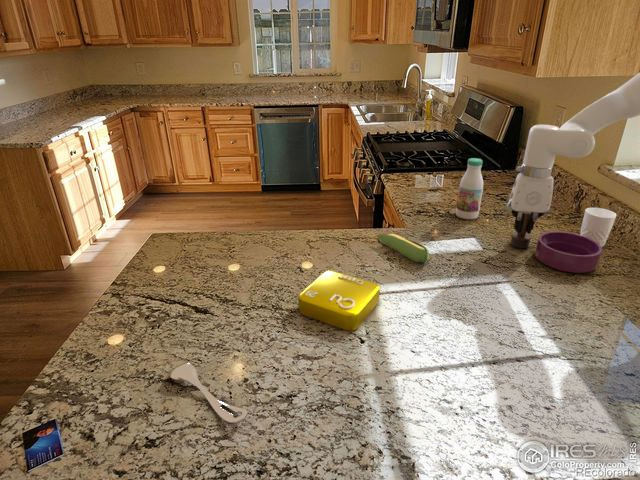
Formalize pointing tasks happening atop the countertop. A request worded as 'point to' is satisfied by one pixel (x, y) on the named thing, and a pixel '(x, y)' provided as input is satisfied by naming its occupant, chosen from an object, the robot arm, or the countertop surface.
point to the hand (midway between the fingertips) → (522, 231)
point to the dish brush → (522, 233)
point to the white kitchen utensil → (207, 392)
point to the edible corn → (405, 247)
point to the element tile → (339, 300)
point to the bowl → (568, 251)
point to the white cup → (597, 224)
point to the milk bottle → (470, 191)
